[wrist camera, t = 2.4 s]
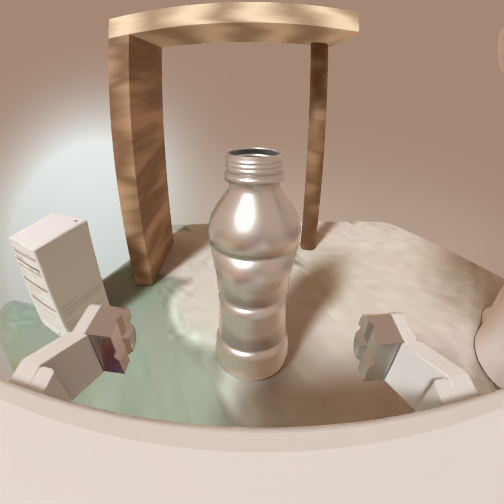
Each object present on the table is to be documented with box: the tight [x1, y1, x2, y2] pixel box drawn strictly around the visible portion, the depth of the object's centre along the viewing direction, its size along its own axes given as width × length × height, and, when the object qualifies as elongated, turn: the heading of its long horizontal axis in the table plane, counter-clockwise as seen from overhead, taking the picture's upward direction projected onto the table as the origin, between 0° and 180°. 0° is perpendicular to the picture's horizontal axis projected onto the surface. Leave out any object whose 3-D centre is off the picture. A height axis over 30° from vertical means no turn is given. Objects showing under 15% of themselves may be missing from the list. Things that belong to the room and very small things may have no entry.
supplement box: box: [9, 213, 110, 336], centre depth 30 cm, size 7×7×13 cm
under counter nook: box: [108, 2, 359, 285], centre depth 38 cm, size 27×13×34 cm, turn 90°
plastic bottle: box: [208, 148, 301, 381], centre depth 24 cm, size 6×7×20 cm
